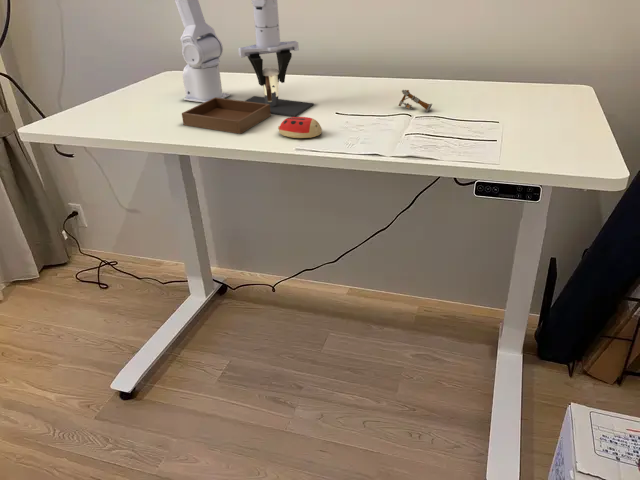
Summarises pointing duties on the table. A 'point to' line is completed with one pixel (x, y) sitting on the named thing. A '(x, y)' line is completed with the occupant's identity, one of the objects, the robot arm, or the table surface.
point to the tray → (226, 115)
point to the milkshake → (271, 86)
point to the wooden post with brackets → (415, 99)
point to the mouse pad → (284, 106)
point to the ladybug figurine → (300, 127)
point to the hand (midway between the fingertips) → (271, 83)
